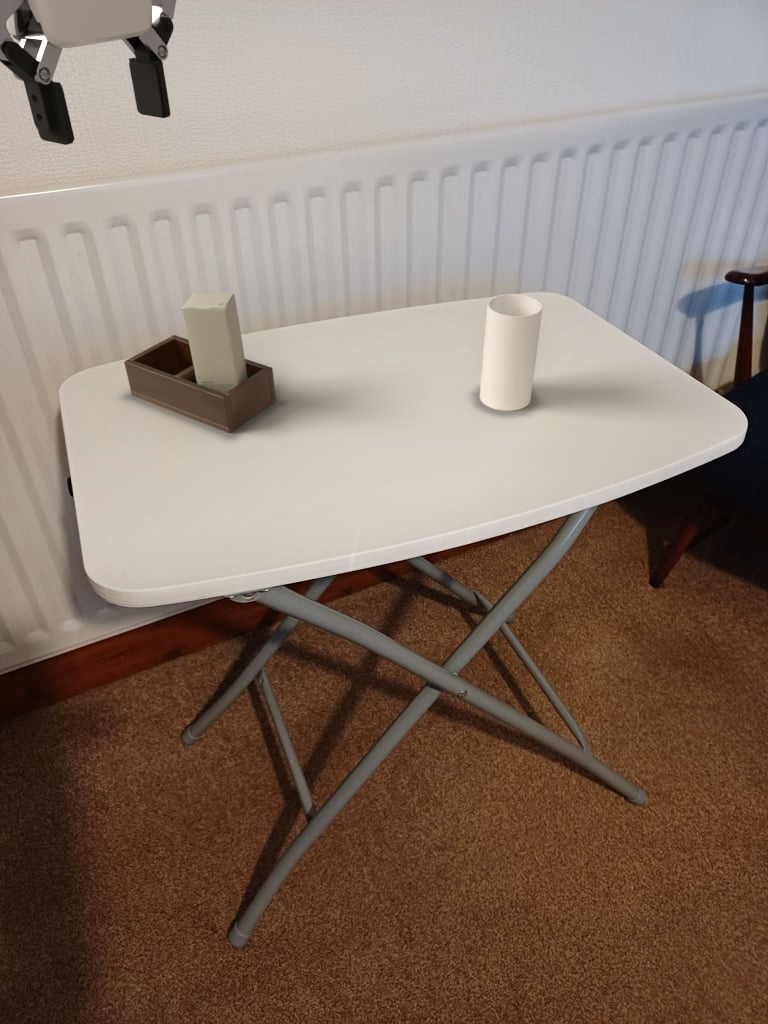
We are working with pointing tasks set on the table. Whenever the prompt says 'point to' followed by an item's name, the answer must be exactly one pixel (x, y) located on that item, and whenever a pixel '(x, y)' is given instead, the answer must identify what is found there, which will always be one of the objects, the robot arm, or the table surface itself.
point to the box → (215, 340)
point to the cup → (510, 351)
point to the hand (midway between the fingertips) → (108, 127)
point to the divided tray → (197, 386)
